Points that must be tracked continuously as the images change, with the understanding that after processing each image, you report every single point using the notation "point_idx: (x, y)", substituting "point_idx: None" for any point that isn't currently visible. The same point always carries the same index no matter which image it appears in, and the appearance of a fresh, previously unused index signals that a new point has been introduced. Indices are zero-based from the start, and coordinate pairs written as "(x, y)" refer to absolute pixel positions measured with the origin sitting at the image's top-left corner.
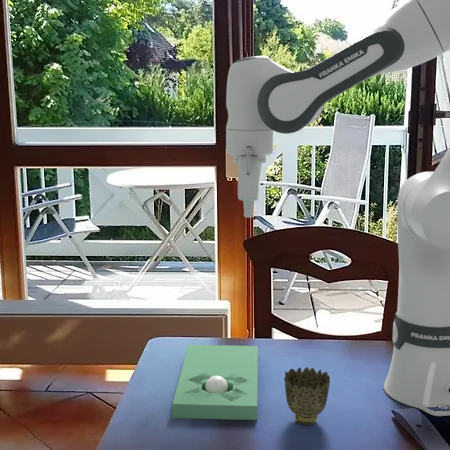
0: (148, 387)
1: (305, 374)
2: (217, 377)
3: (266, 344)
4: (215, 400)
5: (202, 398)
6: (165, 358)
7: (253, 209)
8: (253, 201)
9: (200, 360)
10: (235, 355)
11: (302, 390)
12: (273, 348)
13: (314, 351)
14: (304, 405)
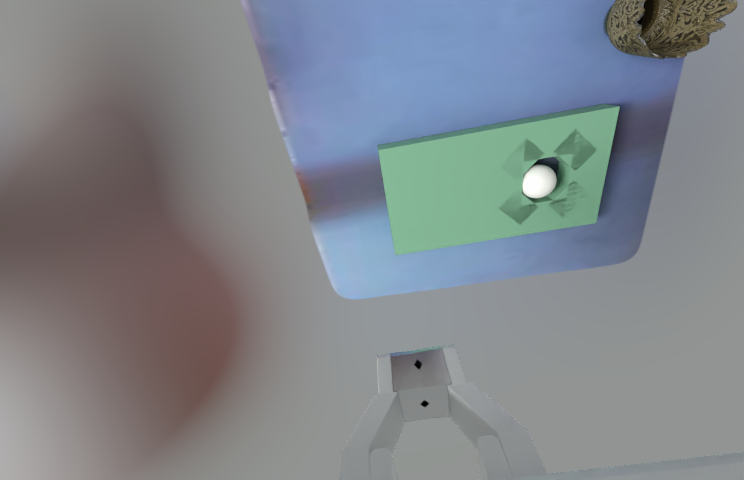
0: (497, 263)
1: (634, 15)
2: (548, 185)
3: (313, 140)
4: (592, 172)
5: (584, 191)
6: (406, 270)
7: (388, 374)
8: (521, 426)
9: (452, 225)
10: (426, 179)
11: (723, 11)
12: (328, 124)
13: (319, 35)
14: (692, 11)
